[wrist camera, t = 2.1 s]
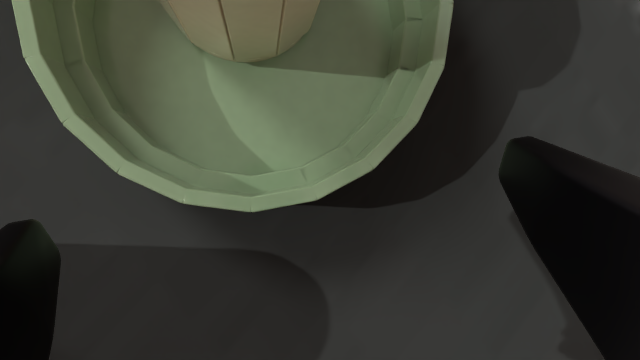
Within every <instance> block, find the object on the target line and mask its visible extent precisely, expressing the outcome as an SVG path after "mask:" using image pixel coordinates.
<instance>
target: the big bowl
mask: <svg viewBox="0 0 640 360" xmlns="http://www.w3.org/2000/svg"><path fill="white" fill-rule="evenodd" d="M453 3H454V1H453V0H321V2H320V4H319V7H318V10H317V12H316V15H315V18H314V20H313V23H312V26H311V28H310V29H309V31H308V32H307V33H306V34H305V35H304V36H303V37H302V38H301V39H300V40H299V41H298V42H297V43H296V44H295V45H294V46H293V47H291V48H290V49H288V50H287V51H285V52H284V53H282V54H280V55H278V56H276V57H273V58H270V59H267V60H263V61H258V62H234V61H229V60H224V59H221V58H218V57H215V56H213V55H211V54H209V53H207V52H205V51H204V50H202V49H200V48H199V47H197V46H195V45H194V44H193V43H191V42H190V41H189V39H188V38H187V37H186V36H185V35H184V34H183V33H182V32H181V31H180V29H179V28H178V27H177V25H176V24H175V22H174V21H173V20H172V19H171V17H170V16H169V15H168V14H167V13H166V11H165V10H164V8H163V7H162V5H161V3H160V2H159V0H12V4H13V9H14V14H15V19H16V24H17V28H18V33H19V38H20V43H21V48H22V53H23V57H24V58H25V61H26V63H27V65H28V66H29V68H30V70H31V71H32V73H33V75H34V77H35V78H36V80H37V82H38V84H39V85H40V87H41V89H42V90H43V92H44V94H45V96H46V97H47V99H48V101H49V102H50V104H51V106H52V108H53V109H54V111H55V113H56V114H57V116H58V118H59V120H60V121H61V123H63V125H64V126H65V127H66V128H67V129H68V130H69V131H70V132H71V133H73V134H74V135H75V136H76V137H77V138H78V139H79V140H80V141H81V142H82V143H84V144H85V145H86V146H87V147H88V148H89V149H90V150H91V151H92V152H94V153H95V154H96V155H97V156H98V157H99V158H100V159H101V160H102V161H103V162H105V163H106V164H107V165H108V166H109V167H110V168H111V169H112V170H113V171H115V172H116V173H118V175H121V176H123V177H125V178H127V179H129V180H131V181H134V182H136V183H138V184H140V185H142V186H145V187H147V188H149V189H151V190H153V191H155V192H158V193H160V194H162V195H164V196H166V197H168V198H171V199H173V200H175V201H177V202H179V203H183V204H187V205H195V206H203V207H211V208H218V209H226V210H234V211H242V212H258V211H264V210H269V209H274V208H280V207H285V206H291V205H296V204H301V203H307V202H312V201H316V200H319V199H321V198H323V197H325V196H326V195H328V194H330V193H332V192H334V191H336V190H337V189H339V188H341V187H343V186H345V185H347V184H348V183H350V182H352V181H354V180H356V179H358V178H360V177H361V176H363V175H365V174H367V173H369V172H371V171H372V170H373V169H375V168H376V167H377V166H378V165H379V164H380V163H381V162H382V161H383V159H384V158H385V157H386V156H387V155H388V154H389V153H390V152H391V151H392V150H393V149H394V148H395V147H396V146H397V145H398V144H399V143H400V142H401V141H402V139H403V138H404V137H405V136H406V135H407V134H408V133H409V132H410V131H411V130H412V129H413V128H414V127H415V126H416V124H417V123H418V122H419V119H420V117H421V115H422V113H423V111H424V109H425V107H426V105H427V103H428V101H429V99H430V97H431V94H432V92H433V90H434V88H435V86H436V84H437V82H438V80H439V78H440V76H441V74H442V72H443V70H444V66H445V60H446V53H447V46H448V39H449V32H450V26H451V19H452V12H453Z"/></svg>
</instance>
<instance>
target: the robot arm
mask: <svg viewBox="0 0 640 360" xmlns="http://www.w3.org/2000/svg"><path fill="white" fill-rule="evenodd" d="M499 179H500V182H501V185H502V187H503V189H504V191H505V193H506V195H507V197H508V199H509V201H510V203H511V205H512V207H513V209H514V211H515V213H516V215H517V217H518V219H519V221H520V223H521V225H522V227H523V229H524V231H525V233H526V235H527V237H528V238H529V240H530V242H531V244H532V245H533V247H534V249H535V250H536V252H537V254H538V255H539V257H540V258H541V260H542V261H543V263H544V265H545V266H546V268H547V269H548V271H549V272H550V274H551V276H552V277H553V279H554V280H555V282H556V283H557V285H558V286H559V288H560V290H561V291H562V293H563V294H564V296H565V297H566V299H567V300H568V302H569V304H570V305H571V307H572V308H573V310H574V311H575V313H576V315H577V316H578V318H579V319H580V321H581V322H582V324H583V325H584V327H585V329H586V330H587V332H588V333H589V335H590V336H591V338H592V340H593V341H594V343H595V344H596V346H597V347H598V349H599V350H600V352H601V354H602V355H603V357H604V358H605V360H640V177H637V176H634V175H632V174H629V173H627V172H624V171H621V170H619V169H616V168H613V167H611V166H608V165H605V164H603V163H600V162H597V161H595V160H592V159H590V158H587V157H584V156H582V155H579V154H576V153H574V152H571V151H568V150H566V149H563V148H560V147H558V146H555V145H553V144H550V143H547V142H545V141H542V140H539V139H537V138H534V137H530V136H526V137H520V138H514V139H511V140H510V141H509V142H508V143H507V145H506V148H505V152H504V155H503V158H502V162H501V165H500V168H499ZM60 265H61V257H60V253H59V250H58V248H57V247H56V245H55V244H54V242H53V241H52V239H51V238H50V236H49V235H48V233H47V232H46V230H45V229H44V227H43V226H42V225H41V223H40V222H38V221H37V220H33V219H29V220H23V221H17V222H12V223H9V224H7V225H6V226H4V227H3V228H2V229H1V230H0V360H49V355H50V350H51V345H52V340H53V333H54V325H55V315H56V305H57V295H58V285H59V275H60Z"/></svg>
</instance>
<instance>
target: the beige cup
mask: <svg viewBox="0 0 640 360" xmlns="http://www.w3.org/2000/svg"><path fill="white" fill-rule="evenodd" d="M159 2H160V3H161V5H162V7H163V8H164V10H165V11H166V13H167V14H168V15H169V16H170V17H171V19H172V20H173V21H174V22H175V24H176V25H177V27H178V28H179V29H180V31H181V32H182V33H183V34H184V35H185V36H186V37H187V38H188V39H189V41H190V42H191V43H193V44H194V45H195V46H197V47H199V48H200V49H202V50H204V51H205V52H207V53H209V54H211V55H213V56H215V57H218V58H221V59H224V60H229V61H234V62H258V61H263V60H267V59H270V58H273V57H276V56H278V55H280V54H282V53H284V52H285V51H287V50H288V49H290V48H291V47H293V46H294V45H295V44H296V43H297V42H298V41H299V40H300V39H301V38H302V37H303V36H304V35H305V34H306V33H307V32H308V31H309V29H310V28H311V26H312V23H313V20H314V18H315V15H316V12H317V10H318V7H319V4H320V2H321V0H159Z"/></svg>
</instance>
